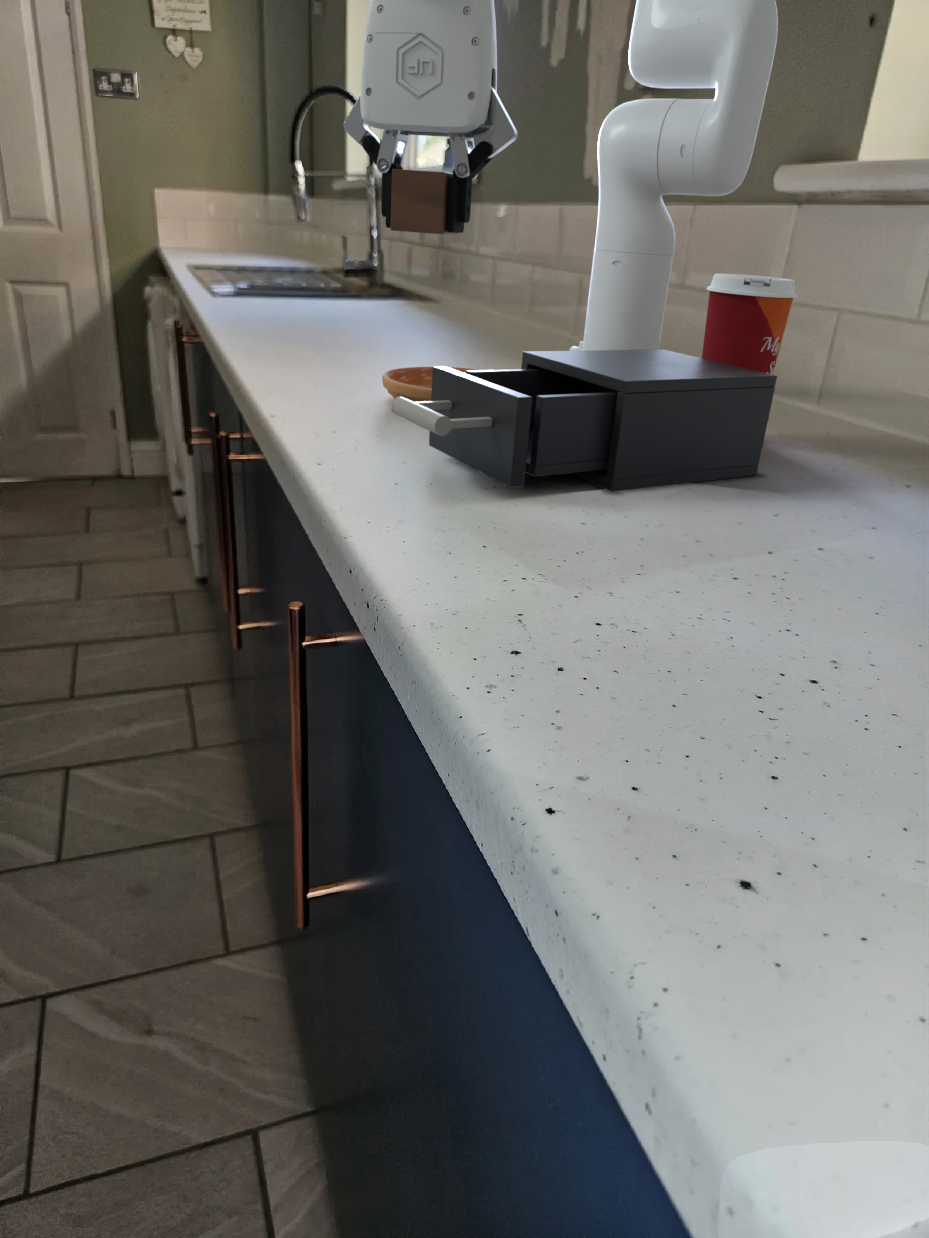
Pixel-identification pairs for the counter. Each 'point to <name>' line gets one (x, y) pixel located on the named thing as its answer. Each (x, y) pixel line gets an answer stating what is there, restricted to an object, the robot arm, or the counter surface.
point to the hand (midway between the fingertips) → (425, 227)
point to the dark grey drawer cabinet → (671, 414)
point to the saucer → (412, 382)
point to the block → (419, 201)
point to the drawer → (516, 421)
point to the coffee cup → (747, 320)
